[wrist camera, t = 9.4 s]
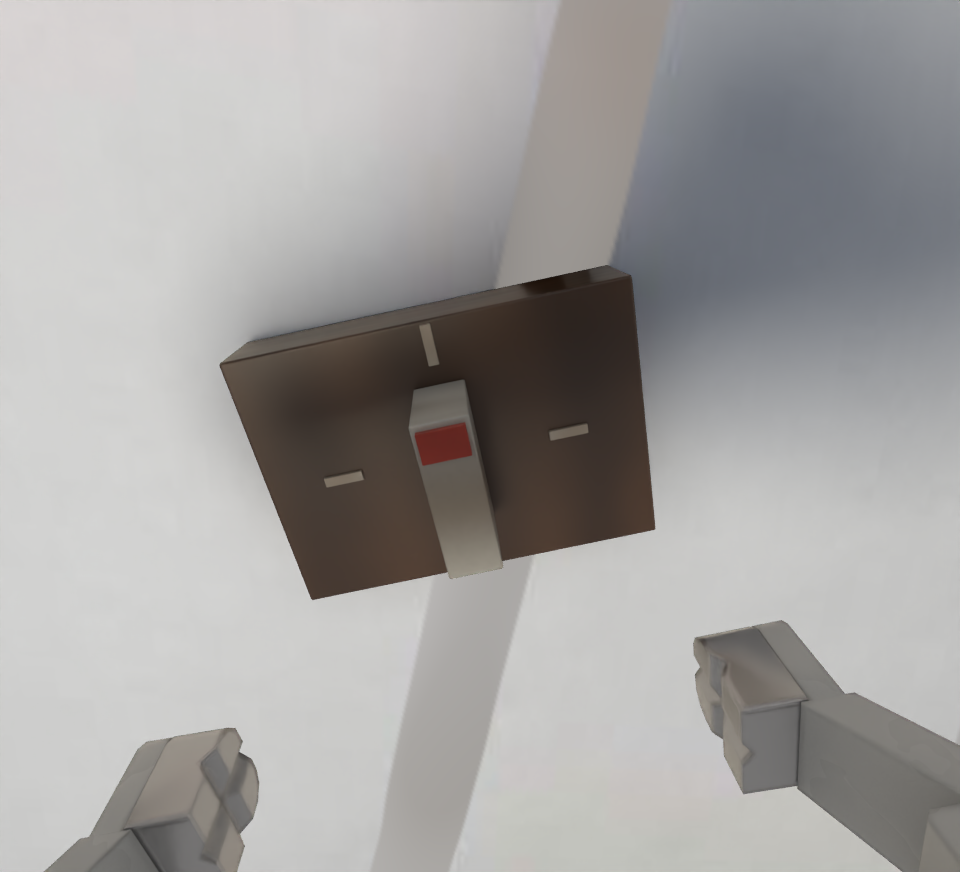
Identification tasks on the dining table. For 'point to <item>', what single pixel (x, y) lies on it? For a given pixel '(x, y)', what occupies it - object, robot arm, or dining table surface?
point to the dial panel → (496, 413)
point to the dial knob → (455, 478)
